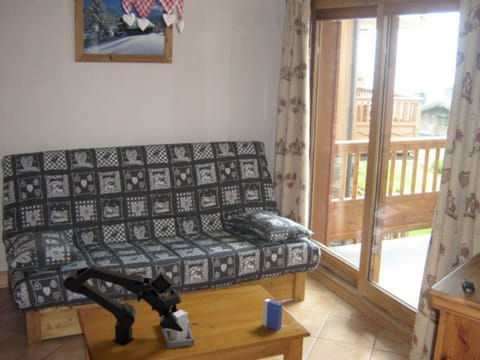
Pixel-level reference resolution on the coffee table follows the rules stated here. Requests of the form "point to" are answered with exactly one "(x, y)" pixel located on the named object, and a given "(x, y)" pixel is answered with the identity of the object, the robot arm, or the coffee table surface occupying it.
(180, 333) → the skincare box
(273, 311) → the walkman
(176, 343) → the frame
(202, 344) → the coffee table surface
